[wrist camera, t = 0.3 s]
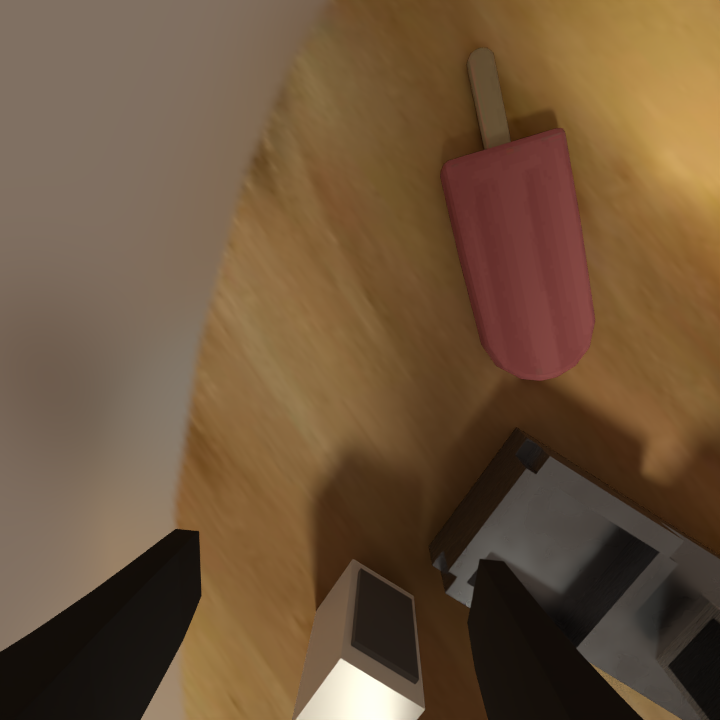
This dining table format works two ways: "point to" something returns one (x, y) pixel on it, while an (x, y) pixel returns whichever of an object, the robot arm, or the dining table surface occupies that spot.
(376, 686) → the block
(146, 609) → the robot arm
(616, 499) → the grey socket block stand
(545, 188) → the popsicle
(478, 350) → the dining table surface
